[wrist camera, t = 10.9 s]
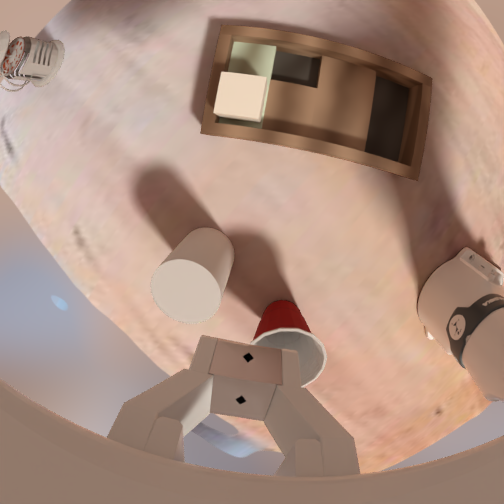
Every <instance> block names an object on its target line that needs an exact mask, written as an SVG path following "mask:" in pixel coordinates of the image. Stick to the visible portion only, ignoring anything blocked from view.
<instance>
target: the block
mask: <svg viewBox="0 0 504 504" xmlns="http://www.w3.org/2000/svg"><path fill="white" fill-rule="evenodd" d="M266 91H267V77H263V76H256V75H248V74H240V73H231V72H221V76H220V81H219V86H218V91H217V96H216V101H215V107H214V112H213V113H215V114H216V115H218V116H220V117H221V118H229V119H237V120H244V121H250V122H257V123H261V118H262V112H263V107H264V102H265V96H266Z"/></svg>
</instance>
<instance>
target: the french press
mask: <svg viewBox="0 0 504 504" xmlns="http://www.w3.org/2000/svg"><path fill="white" fill-rule="evenodd" d="M38 40H39V39H38ZM38 40H37V39H36V38H32V37H24V38H22V37H17V38H16V39H14V40H13V41H12V42H11V43H10V45H9V42H10V35H9V32H7V31H2V32H1V33H0V74H1V75H2V76H0V77H4V79H5V80H6V81H7V82H8V83H9V84H11V85H13V86H20V87H21V86H22V88H23V87H24V86H25V85H27V84H28V83H29V82H30V81H31V82H32V84H33V85H34V86H35V87H42V86H44V85H46V84H48V83H49V82H50V81H51V80H52V79H53V78H54V77H55V75H56V74H57V72H58V70H59V69H60V67H61V64H62V61H63V59H64V52H65V49H64V45H63V43H62V42H61V41H59V40H52V41H51V42H46V41H41V40H40V41H38ZM24 52H26V53H25V55H24V57H23V59H22V61H21V58H22V56H23V53H24ZM28 53H30V54H29V56H28V59H27V60H26V62H25V64H24V66H23V68H22V70H21V71H20V72H19V73H18V71H19V69H20V67H21V66H22V64H23V62H24V60H25V58H26V56H27V54H28ZM20 61H21V63H20V64H19V62H20ZM18 64H19V66H18ZM17 66H18V68H17V70H16V76H14V70H15V69H16V67H17ZM9 74H11V75H12V76H13V78H11V77H10V75H9ZM18 74H20V76H21V77H20V76H19V75H18ZM23 74H25V77H23ZM5 77H7V78H8V79H17V80H26V81H28V82H27V83H26V81H25V83H24V84H23V85H15V84H13V83H11V82H9V81H8V80H7V79H6V78H5ZM0 86H1V87H2V88H3V89H5V90H7V91H10V92H16V91H19V90H21V89H22V88H20V89H18V90H9V89H6V88H5V87H3V86H2V85H1V84H0Z"/></svg>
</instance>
